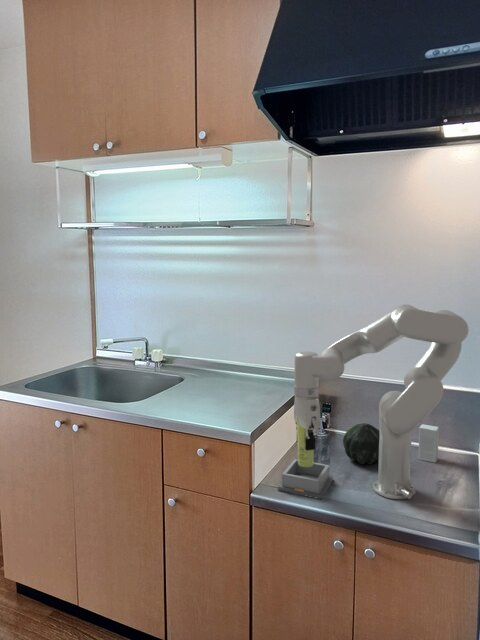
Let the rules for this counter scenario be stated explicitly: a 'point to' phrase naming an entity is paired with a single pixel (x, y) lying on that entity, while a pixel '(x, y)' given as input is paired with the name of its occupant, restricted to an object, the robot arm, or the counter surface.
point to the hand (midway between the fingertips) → (305, 445)
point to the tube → (303, 447)
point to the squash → (362, 443)
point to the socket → (306, 479)
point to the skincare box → (428, 443)
